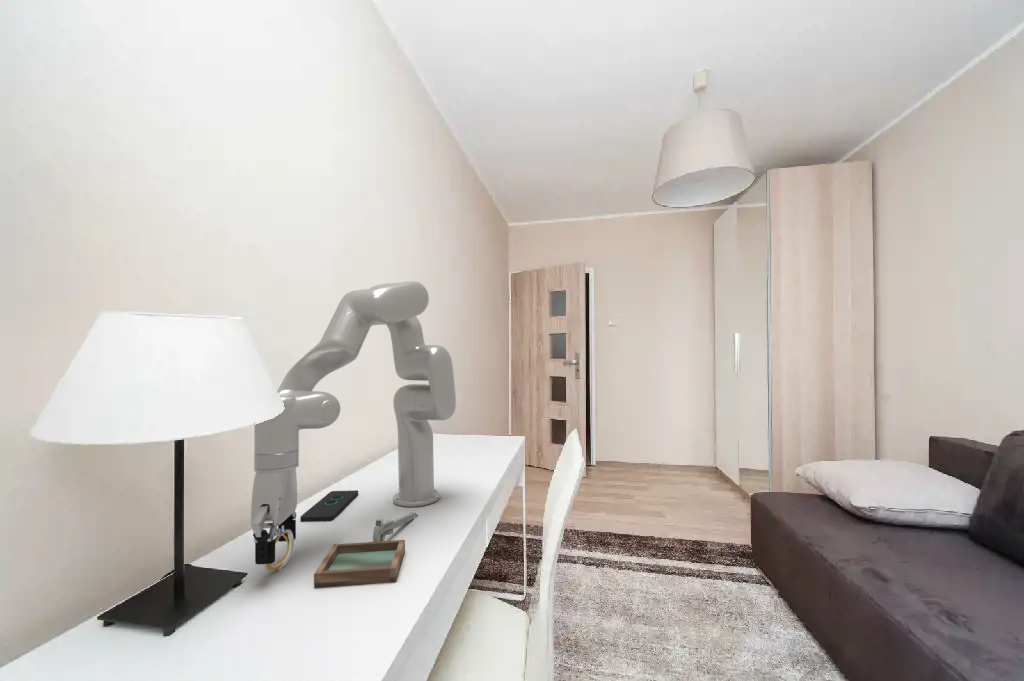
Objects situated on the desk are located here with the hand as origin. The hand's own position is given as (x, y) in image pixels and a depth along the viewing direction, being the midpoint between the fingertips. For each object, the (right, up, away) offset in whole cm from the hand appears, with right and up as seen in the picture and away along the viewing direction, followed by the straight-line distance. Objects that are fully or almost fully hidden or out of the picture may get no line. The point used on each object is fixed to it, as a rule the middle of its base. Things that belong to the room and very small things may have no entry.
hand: (276, 551), depth 84 cm
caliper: (+19, -4, +17) cm, 25 cm away
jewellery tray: (+16, -3, 0) cm, 17 cm away
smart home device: (-3, -5, +34) cm, 34 cm away
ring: (0, -4, 0) cm, 4 cm away
